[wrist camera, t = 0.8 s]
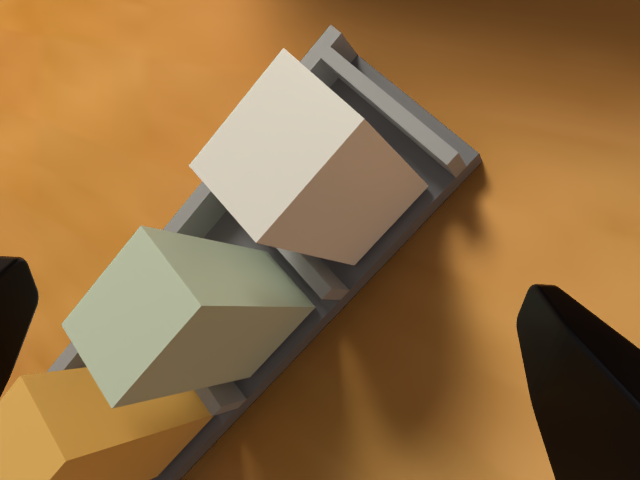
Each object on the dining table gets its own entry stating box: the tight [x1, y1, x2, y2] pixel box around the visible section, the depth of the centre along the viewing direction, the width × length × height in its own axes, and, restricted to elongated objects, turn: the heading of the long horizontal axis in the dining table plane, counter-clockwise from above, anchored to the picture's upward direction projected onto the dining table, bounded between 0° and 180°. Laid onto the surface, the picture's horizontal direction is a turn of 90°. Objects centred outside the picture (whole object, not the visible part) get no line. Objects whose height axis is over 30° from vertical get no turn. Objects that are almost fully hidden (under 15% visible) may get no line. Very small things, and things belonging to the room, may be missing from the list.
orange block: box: [0, 367, 213, 480], centre depth 21 cm, size 4×4×8 cm
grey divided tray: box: [47, 25, 482, 480], centre depth 24 cm, size 8×23×3 cm, turn 134°
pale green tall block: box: [61, 226, 315, 409], centre depth 19 cm, size 4×4×8 cm
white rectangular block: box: [189, 48, 428, 265], centre depth 18 cm, size 4×4×8 cm
